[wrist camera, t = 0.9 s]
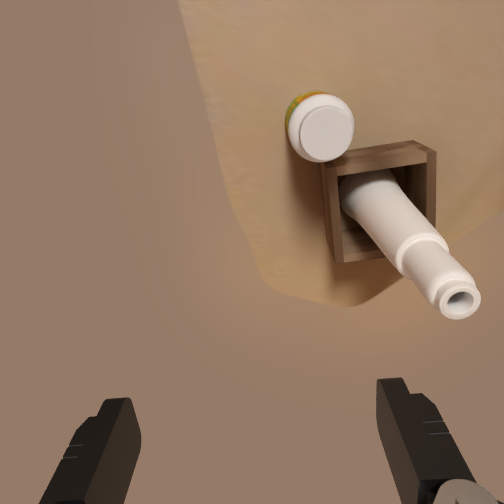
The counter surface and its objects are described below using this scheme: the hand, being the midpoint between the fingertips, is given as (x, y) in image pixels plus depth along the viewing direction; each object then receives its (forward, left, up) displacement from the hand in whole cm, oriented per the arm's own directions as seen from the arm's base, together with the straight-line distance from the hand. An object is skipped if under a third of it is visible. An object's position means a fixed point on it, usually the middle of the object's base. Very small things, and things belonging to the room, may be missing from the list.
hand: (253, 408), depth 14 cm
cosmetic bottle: (-11, +3, -32) cm, 34 cm away
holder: (-11, +3, -32) cm, 33 cm away
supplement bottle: (-6, -5, -32) cm, 33 cm away
